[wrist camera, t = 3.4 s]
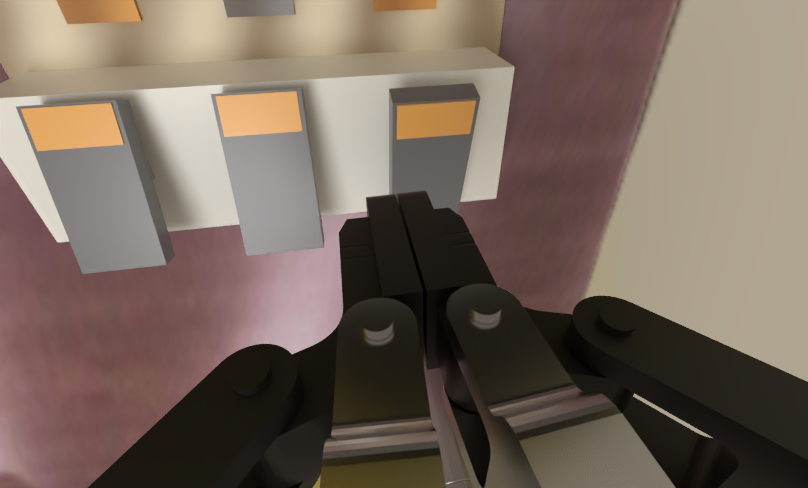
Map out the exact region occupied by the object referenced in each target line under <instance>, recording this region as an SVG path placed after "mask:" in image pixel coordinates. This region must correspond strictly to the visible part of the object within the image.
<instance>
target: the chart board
mask: <svg viewBox="0 0 808 488" xmlns="http://www.w3.org/2000/svg"><path fill="white" fill-rule="evenodd" d="M504 6H505V0H0V63H1V64H2V66H3V68H4V69H5V71H6V73H7V75H8V76H9V78H10V79H11V78H13V77H16V76H18V75H20V74H22V73H24V72H28V71H46V70H65V69H83V68H102V67H120V66H139V65H157V64H176V63H195V62H213V61H232V60H250V59H269V58H287V57H306V56H324V55H343V54H361V53H380V52H398V51H417V50H436V49H454V48H473V47H485V48H487V49H488V50H490V51H491V52H493V53H495V54H496V55H498V56H499V49H500V41H501V32H502V23H503V15H504Z"/></svg>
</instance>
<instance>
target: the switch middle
mask: <svg viewBox="0 0 808 488" xmlns="http://www.w3.org/2000/svg"><path fill="white" fill-rule="evenodd" d="M211 98H212V103H213V107H214V112H215V116H216V120H217V125H218V129H219V134H220V138H221V143H222V147H223V152H224V156H225V161H226V165H227V169H228V174H229V178H230V183H231V187H232V192H233V196H234V201H235V205H236V210H237V214H238V219H239V223H240V227H241V232H242V236H243V241H244V245H245V250H246V254H247V256H250V255H259V254H268V253H277V252H286V251H295V250H304V249H314V248H323V247H324V234H323V227H322V220H321V213H320V206H319V199H318V192H317V185H316V178H315V171H314V164H313V157H312V150H311V143H310V136H309V129H308V122H307V114H306V107H305V100H304V93H303V88H297V89H281V90H265V91H249V92H233V93H218V94H211Z"/></svg>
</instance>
